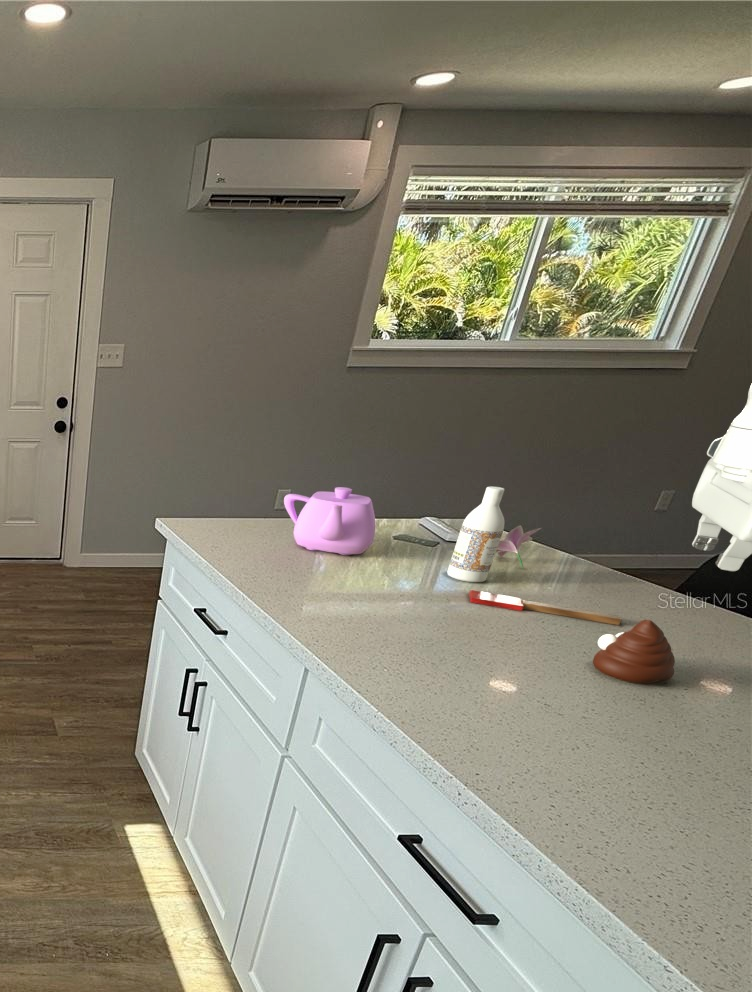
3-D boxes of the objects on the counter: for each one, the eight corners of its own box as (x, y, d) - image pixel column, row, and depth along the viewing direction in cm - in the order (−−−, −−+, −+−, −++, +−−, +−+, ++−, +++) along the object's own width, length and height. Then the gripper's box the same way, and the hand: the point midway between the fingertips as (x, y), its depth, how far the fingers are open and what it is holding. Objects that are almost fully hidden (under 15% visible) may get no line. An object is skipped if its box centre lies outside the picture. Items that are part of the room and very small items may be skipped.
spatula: (614, 618, 119) (617, 612, 119) (621, 628, 115) (623, 622, 115) (468, 594, 131) (470, 588, 130) (470, 602, 127) (472, 596, 126)
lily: (534, 564, 149) (523, 525, 150) (564, 560, 138) (552, 518, 139) (474, 576, 153) (464, 537, 154) (499, 573, 142) (488, 532, 143)
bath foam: (468, 584, 135) (499, 492, 128) (438, 573, 142) (466, 485, 134) (493, 581, 137) (526, 490, 129) (463, 570, 143) (492, 483, 135)
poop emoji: (634, 689, 96) (661, 634, 92) (573, 663, 104) (595, 611, 100) (685, 682, 98) (713, 628, 94) (621, 657, 105) (645, 605, 102)
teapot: (281, 531, 172) (292, 476, 166) (372, 544, 161) (387, 486, 155) (265, 554, 155) (277, 493, 149) (365, 570, 144) (382, 505, 138)
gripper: (852, 472, 69) (780, 588, 75) (775, 445, 85) (720, 543, 90) (766, 464, 72) (704, 576, 78) (707, 440, 88) (659, 534, 93)
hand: (712, 558), depth 84 cm, fingers open, 8 cm apart
